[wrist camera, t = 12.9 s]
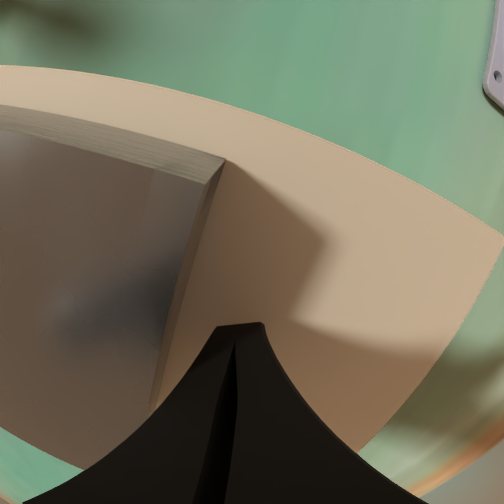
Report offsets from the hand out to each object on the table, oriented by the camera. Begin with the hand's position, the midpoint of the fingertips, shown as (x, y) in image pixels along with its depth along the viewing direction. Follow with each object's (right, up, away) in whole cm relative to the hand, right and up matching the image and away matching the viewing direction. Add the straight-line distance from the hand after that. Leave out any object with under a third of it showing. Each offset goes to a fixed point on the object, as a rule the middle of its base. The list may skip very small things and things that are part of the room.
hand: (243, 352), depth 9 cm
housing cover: (-6, +2, 0) cm, 7 cm away
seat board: (-2, +2, +3) cm, 4 cm away
